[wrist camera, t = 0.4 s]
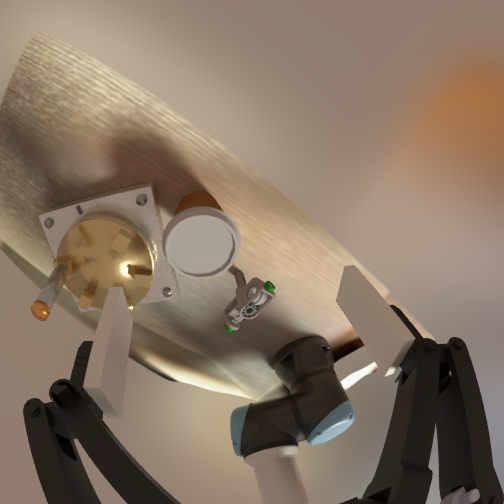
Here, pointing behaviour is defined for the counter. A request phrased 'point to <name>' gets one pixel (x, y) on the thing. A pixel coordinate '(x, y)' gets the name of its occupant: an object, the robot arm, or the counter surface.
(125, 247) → the brass turntable plate
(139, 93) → the counter surface
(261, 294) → the mechanical component
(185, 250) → the disposable coffee cup
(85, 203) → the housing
